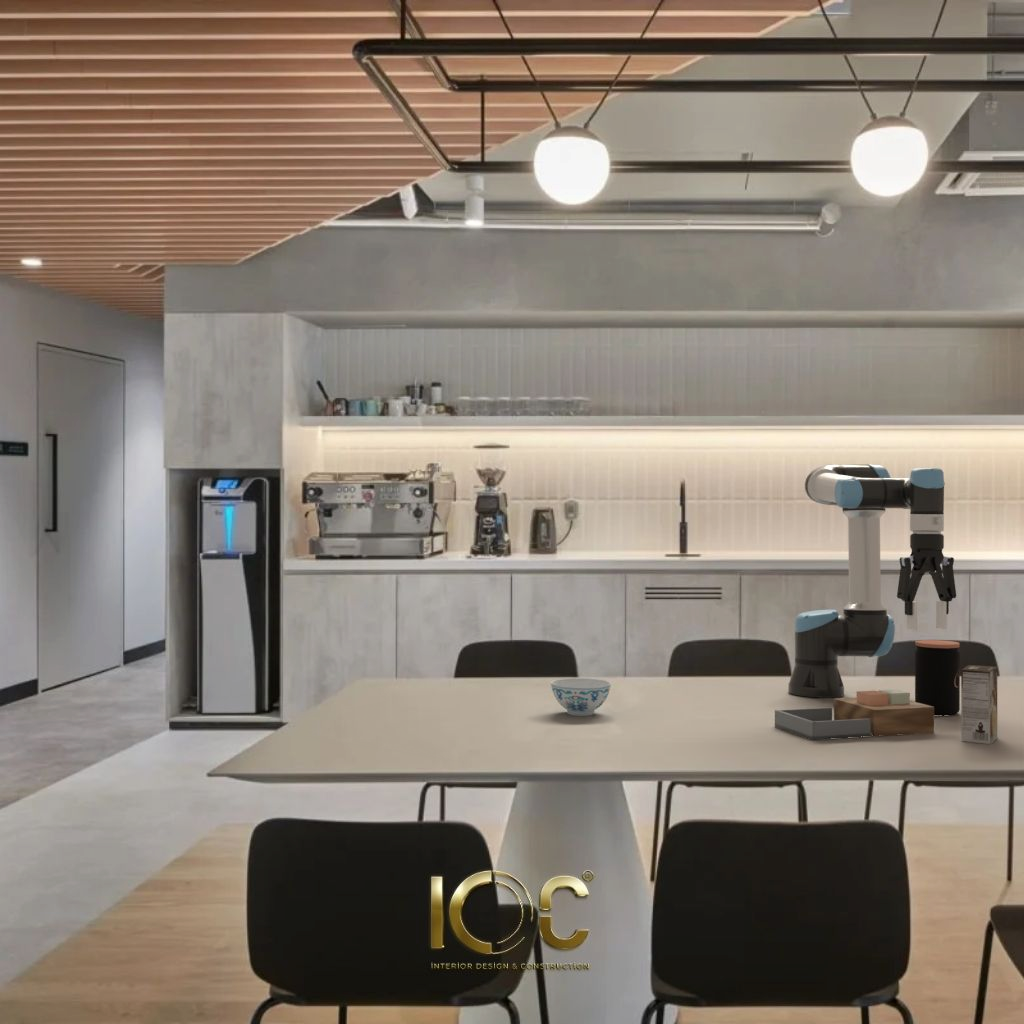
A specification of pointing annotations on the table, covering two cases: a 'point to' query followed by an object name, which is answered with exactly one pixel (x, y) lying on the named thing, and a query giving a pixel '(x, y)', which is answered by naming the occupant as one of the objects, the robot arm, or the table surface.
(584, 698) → the chinaware
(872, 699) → the terracotta tile
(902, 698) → the sage tile
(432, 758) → the table surface
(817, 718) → the tray
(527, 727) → the table surface
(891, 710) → the walnut board
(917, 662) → the coffee jar
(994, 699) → the coffee box
